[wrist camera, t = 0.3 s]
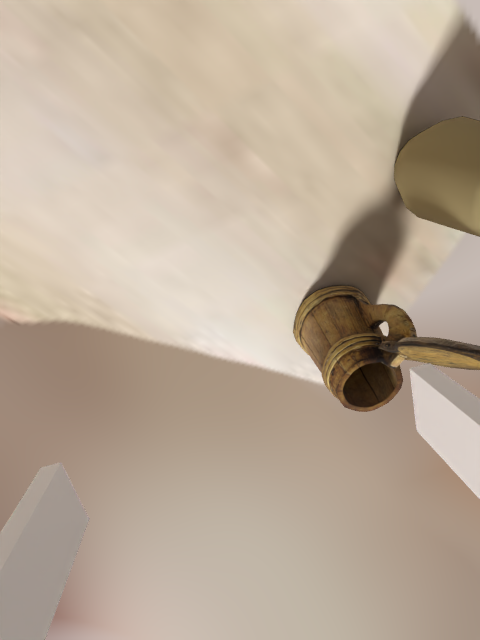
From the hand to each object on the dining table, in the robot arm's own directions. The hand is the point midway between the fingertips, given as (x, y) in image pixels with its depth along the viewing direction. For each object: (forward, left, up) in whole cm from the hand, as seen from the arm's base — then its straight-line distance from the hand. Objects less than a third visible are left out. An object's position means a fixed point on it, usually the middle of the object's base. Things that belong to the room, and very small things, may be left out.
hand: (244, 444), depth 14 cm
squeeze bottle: (-15, +13, -25) cm, 32 cm away
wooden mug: (0, +16, -25) cm, 30 cm away
